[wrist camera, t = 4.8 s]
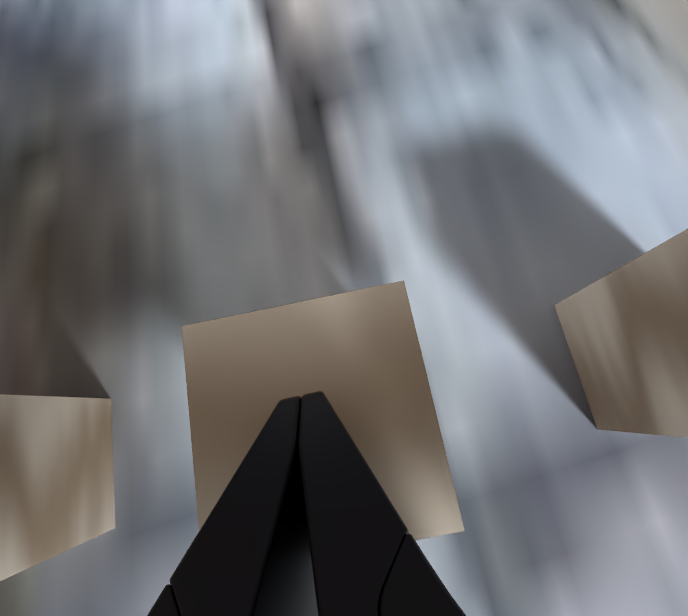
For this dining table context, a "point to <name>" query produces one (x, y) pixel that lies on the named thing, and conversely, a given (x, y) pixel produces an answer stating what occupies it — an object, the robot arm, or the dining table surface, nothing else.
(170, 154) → the dining table surface
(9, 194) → the dining table surface
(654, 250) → the marked block 1
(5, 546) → the marked block 2
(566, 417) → the dining table surface
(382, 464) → the plain block
